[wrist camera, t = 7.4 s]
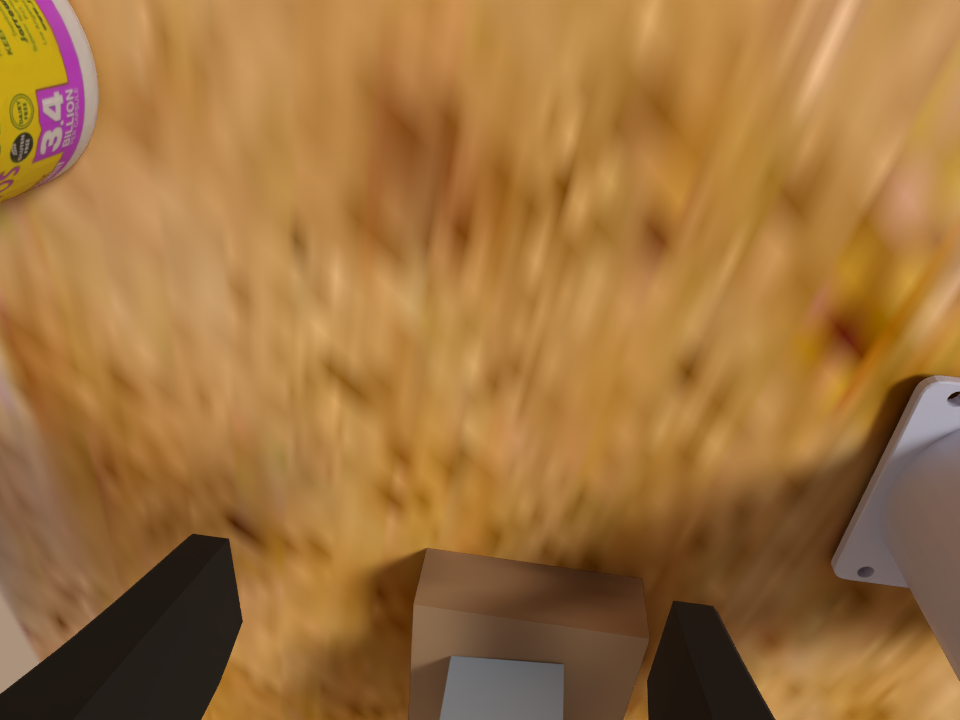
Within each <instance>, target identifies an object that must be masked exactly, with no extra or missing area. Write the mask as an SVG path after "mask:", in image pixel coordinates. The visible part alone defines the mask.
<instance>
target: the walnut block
mask: <svg viewBox="0 0 960 720" xmlns="http://www.w3.org/2000/svg"><path fill="white" fill-rule="evenodd" d="M649 640H650V637H649V629H648V621H647V613H646V605H645V597H644V588H643V580H642V579H639V578H632V577H625V576H618V575H611V574H604V573H597V572H590V571H583V570H576V569H569V568H562V567H555V566H548V565H541V564H535V563H528V562H521V561H514V560H507V559H500V558H493V557H486V556H479V555H472V554H465V553H458V552H451V551H444V550H437V549H430V548H427V549H426V554H425V558H424V562H423V566H422V571H421V575H420V579H419V583H418V587H417V592H416V596H415V600H414V604H413V626H412V648H411V670H410V693H409V715H408V720H440V715H441V709H442V704H443V698H444V693H445V687H446V682H447V676H448V671H449V665H450V660H451V656H461V657H474V658H487V659H500V660H512V661H525V662H538V663H551V664H564V696H563V720H623V719H624V716H625V713H626V710H627V707H628V703H629V700H630V697H631V694H632V691H633V688H634V685H635V682H636V679H637V676H638V673H639V670H640V667H641V664H642V661H643V658H644V655H645V652H646V649H647V646H648V643H649Z"/></svg>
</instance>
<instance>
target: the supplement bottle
mask: <svg viewBox="0 0 960 720" xmlns="http://www.w3.org/2000/svg"><path fill="white" fill-rule="evenodd" d="M98 103H99V97H98V79H97V72H96V67H95V62H94V58H93V55H92V51H91V48H90V45H89V43H88V40H87V38H86V35H85V33H84V30H83V28H82V26H81V24H80V22H79V20H78V18H77V16H76V14H75V12H74V10H73V8H72V7H71V5H70V3H69V2H68V0H0V202H3V201H5V200H8V199H10V198H12V197H15V196H17V195H19V194H21V193H24V192H26V191H28V190H31V189H33V188H35V187H37V186H39V185H41V184H43V183H46V182H48V181H50V180H52V179H54V178H56V177H58V176H59V175H61V174H62V173H63V172H65V171H66V170H68V169H69V168H70V167H71V166H72V165H73V164H74V163H75V162H76V161H77V160H78V158H79V157H80V156H81V154H82V153H83V152H84V150H85V148H86V147H87V145H88V143H89V141H90V138H91V136H92V133H93V130H94V127H95V124H96V120H97V112H98Z"/></svg>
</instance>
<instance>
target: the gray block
mask: <svg viewBox="0 0 960 720" xmlns="http://www.w3.org/2000/svg"><path fill="white" fill-rule="evenodd" d="M563 696H564V664H551V663H538V662H525V661H512V660H500V659H487V658H474V657H461V656H451V660H450V665H449V671H448V676H447V682H446V687H445V693H444V698H443V704H442V709H441V715H440V720H563Z"/></svg>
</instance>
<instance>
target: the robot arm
mask: <svg viewBox="0 0 960 720" xmlns="http://www.w3.org/2000/svg"><path fill="white" fill-rule="evenodd" d="M959 391H960V378H958V377H950V376H941V375H939V376H931V377H928V378H925V379H924V380H922V381H921V382H920V383H919V384H918V385H917V386H916V388H915V390H914V392H913V394H912V396H911V398H910V400H909V402H908V404H907V406H906V408H905V410H904V412H903V414H902V416H901V418H900V420H899V422H898V425H897V427H896V429H895V431H894V433H893V435H892V437H891V439H890V441H889V443H888V445H887V447H886V449H885V451H884V453H883V455H882V457H881V460H880V462H879V464H878V466H877V468H876V470H875V472H874V474H873V476H872V478H871V480H870V482H869V484H868V486H867V488H866V490H865V492H864V494H863V497H862V499H861V501H860V503H859V505H858V507H857V509H856V511H855V513H854V515H853V517H852V519H851V521H850V523H849V525H848V527H847V529H846V531H845V534H844V536H843V538H842V540H841V542H840V544H839V546H838V548H837V550H836V552H835V554H834V556H833V558H832V561H831V566H832V568H833V570H834V573H835V575H836V576H838V577H839V578H842V579H847V580H854V581H861V582H869V583H876V584H884V585H891V586H898V587H906V588H909V589H910V591H911V592H912V594H913V596H914V598H915V600H916V602H917V604H918V605H919V607H920V609H921V611H922V613H923V615H924V617H925V618H926V620H927V622H928V624H929V626H930V628H931V629H932V631H933V633H934V635H935V637H936V639H937V641H938V642H939V644H940V646H941V648H942V650H943V652H944V654H945V655H946V657H947V659H948V661H949V663H950V665H951V667H952V668H953V670H954V672H955V674H956V676H957V678H958V679H959V681H960V394H959V395H958V396H957V397H955V398H952V399H947V398H948V397H949V396H950V395H951V394H952V393H954V392H959ZM862 567H865V568H862ZM242 622H243V620H242V614H241V608H240V602H239V596H238V590H237V584H236V578H235V572H234V566H233V560H232V554H231V548H230V542H229V539H226V538H219V537H212V536H205V535H197V534H192V535H191V536H189V537H188V538H187V539H186V540H185V541H183V542H182V543H181V544H180V545H179V546H178V547H176V548H175V549H174V550H173V551H172V552H171V553H170V554H169V555H167V556H166V557H165V558H164V559H163V560H162V561H161V562H159V563H158V564H157V565H156V566H155V567H154V568H153V569H152V570H150V571H149V572H148V573H147V574H146V575H145V576H144V577H143V578H141V579H140V580H139V581H138V582H137V583H136V584H135V585H133V586H132V587H131V588H130V589H129V590H128V591H126V592H125V593H124V594H123V595H122V596H121V597H120V598H118V599H117V600H116V601H115V602H114V603H113V604H111V605H110V606H109V607H108V608H107V609H106V610H104V611H103V612H102V613H101V614H100V615H98V616H97V617H96V618H95V619H94V620H92V621H91V622H90V623H89V624H88V625H86V626H85V627H84V628H83V629H82V630H81V631H79V632H78V633H77V634H76V635H75V636H73V637H72V638H71V639H70V640H69V641H67V642H66V643H65V644H64V645H62V646H61V647H60V648H59V649H57V650H56V651H55V652H54V653H52V654H51V655H50V656H49V657H47V658H46V659H45V660H43V661H42V662H41V663H40V664H38V665H37V666H36V667H34V668H33V669H32V670H31V671H29V672H28V673H27V674H25V675H24V676H23V677H22V678H20V679H19V680H18V681H17V682H15V683H14V684H13V685H11V686H10V687H9V688H8V689H6V690H5V691H4V692H2V693H1V694H0V720H201V719H202V717H203V715H204V713H205V711H206V709H207V707H208V705H209V703H210V701H211V699H212V697H213V695H214V693H215V691H216V689H217V687H218V685H219V683H220V680H221V678H222V675H223V673H224V670H225V667H226V665H227V662H228V660H229V657H230V655H231V652H232V649H233V646H234V644H235V641H236V638H237V635H238V633H239V630H240V627H241V624H242ZM647 688H648V716H649V720H775V718H774V717H773V715H772V713H771V711H770V709H769V708H768V706H767V704H766V702H765V701H764V699H763V697H762V695H761V694H760V692H759V690H758V688H757V686H756V684H755V683H754V681H753V679H752V677H751V675H750V673H749V672H748V670H747V668H746V666H745V664H744V662H743V660H742V659H741V657H740V655H739V653H738V651H737V649H736V647H735V645H734V643H733V641H732V639H731V637H730V635H729V634H728V632H727V630H726V628H725V626H724V624H723V622H722V620H721V618H720V616H719V614H718V612H717V611H716V609H715V608H714V607H713V606H708V605H701V604H693V603H686V602H679V601H673V604H672V607H671V610H670V613H669V616H668V619H667V622H666V625H665V628H664V631H663V634H662V637H661V640H660V643H659V646H658V649H657V652H656V655H655V658H654V661H653V664H652V668H651V671H650V674H649V677H648V680H647Z"/></svg>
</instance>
